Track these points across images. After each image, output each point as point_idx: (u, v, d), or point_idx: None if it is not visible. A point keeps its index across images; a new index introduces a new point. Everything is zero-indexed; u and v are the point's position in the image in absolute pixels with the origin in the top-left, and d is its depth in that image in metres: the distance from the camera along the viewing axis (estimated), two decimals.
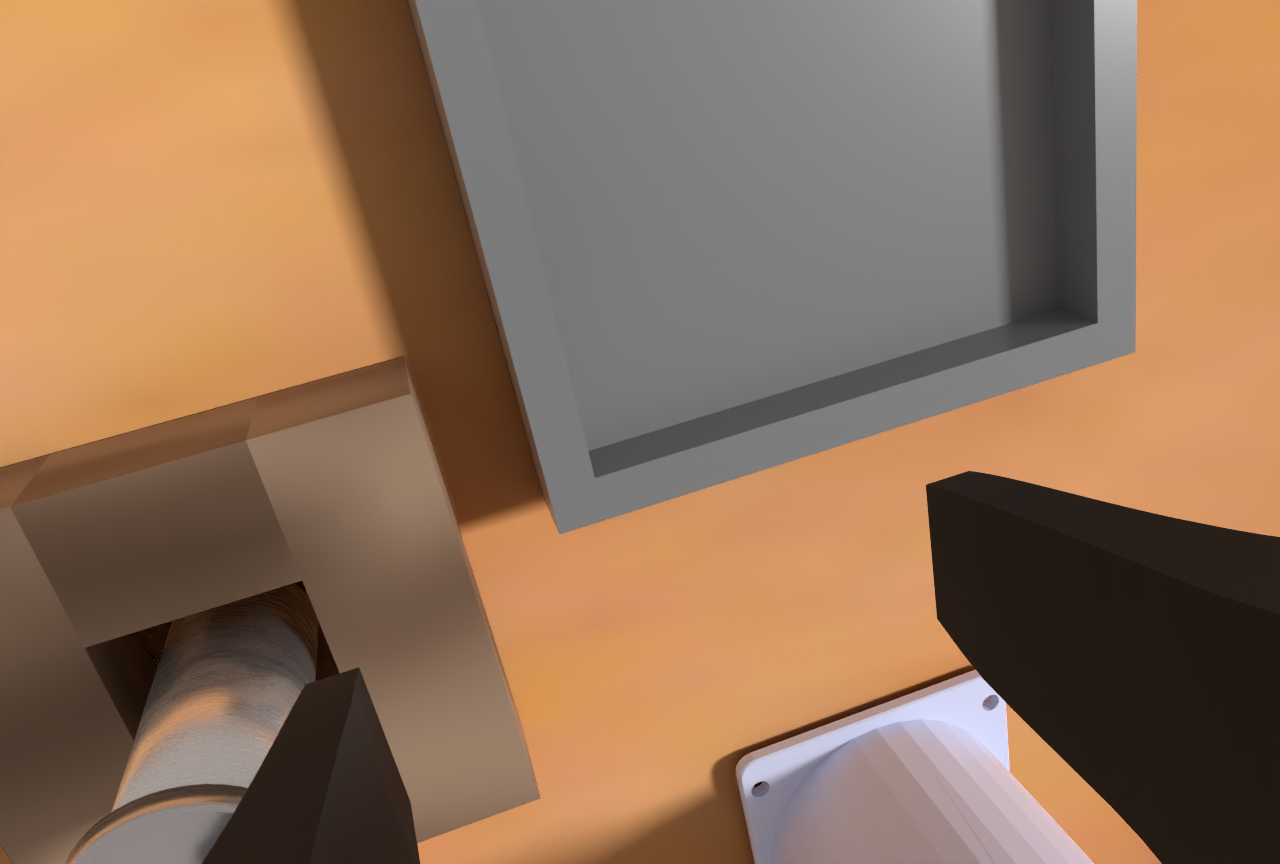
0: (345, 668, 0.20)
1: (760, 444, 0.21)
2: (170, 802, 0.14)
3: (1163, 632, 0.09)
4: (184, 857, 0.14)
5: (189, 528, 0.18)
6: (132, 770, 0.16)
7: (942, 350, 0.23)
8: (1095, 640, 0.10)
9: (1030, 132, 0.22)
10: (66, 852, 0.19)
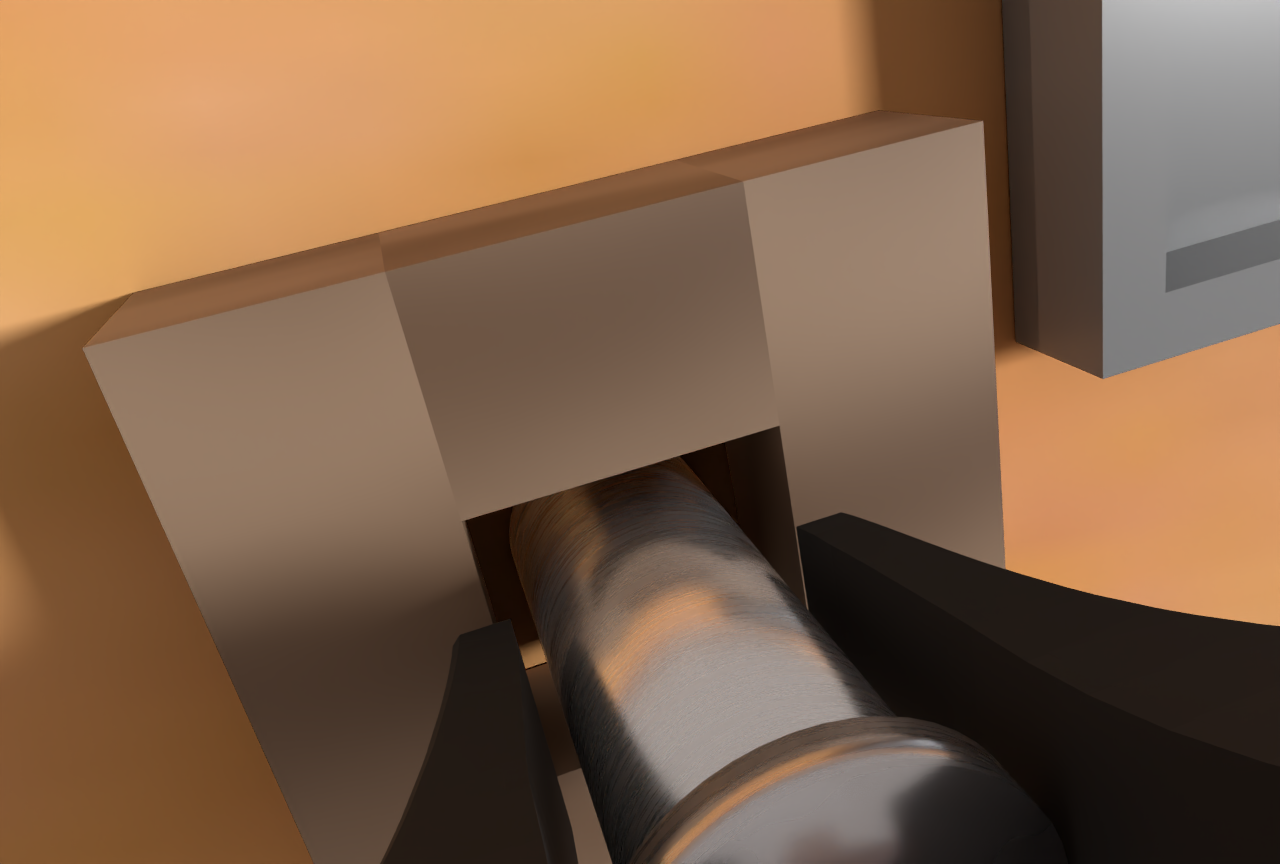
0: None
1: None
2: (853, 747, 0.07)
3: (990, 695, 0.08)
4: (874, 855, 0.07)
5: (639, 328, 0.11)
6: (644, 702, 0.09)
7: None
8: (939, 697, 0.09)
9: None
10: None
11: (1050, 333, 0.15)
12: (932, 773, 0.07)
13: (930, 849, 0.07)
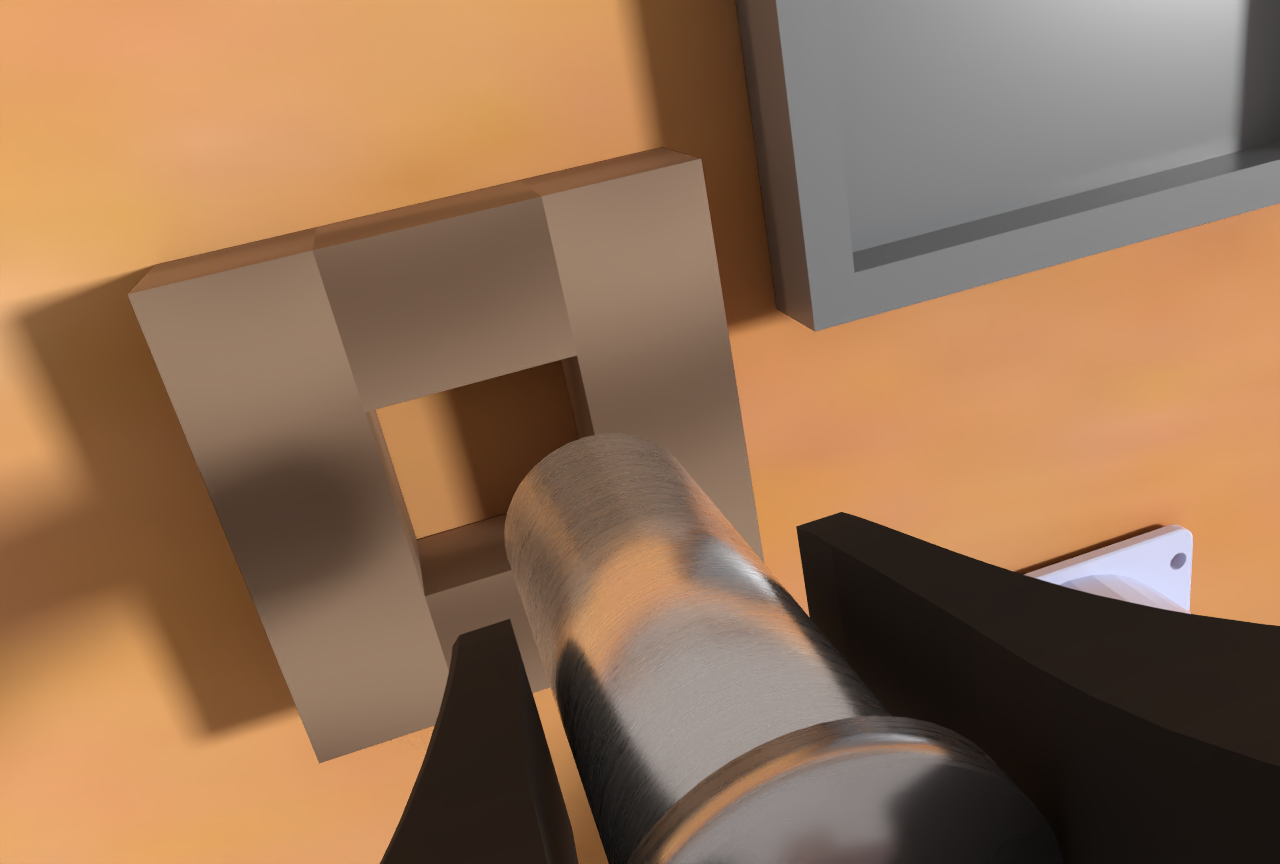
0: None
1: (1012, 249, 0.21)
2: (850, 747, 0.07)
3: (991, 695, 0.08)
4: (871, 854, 0.07)
5: (477, 289, 0.17)
6: (641, 703, 0.09)
7: (1177, 172, 0.22)
8: (939, 697, 0.09)
9: None
10: (322, 637, 0.19)
11: (790, 301, 0.21)
12: (929, 772, 0.07)
13: (927, 848, 0.07)
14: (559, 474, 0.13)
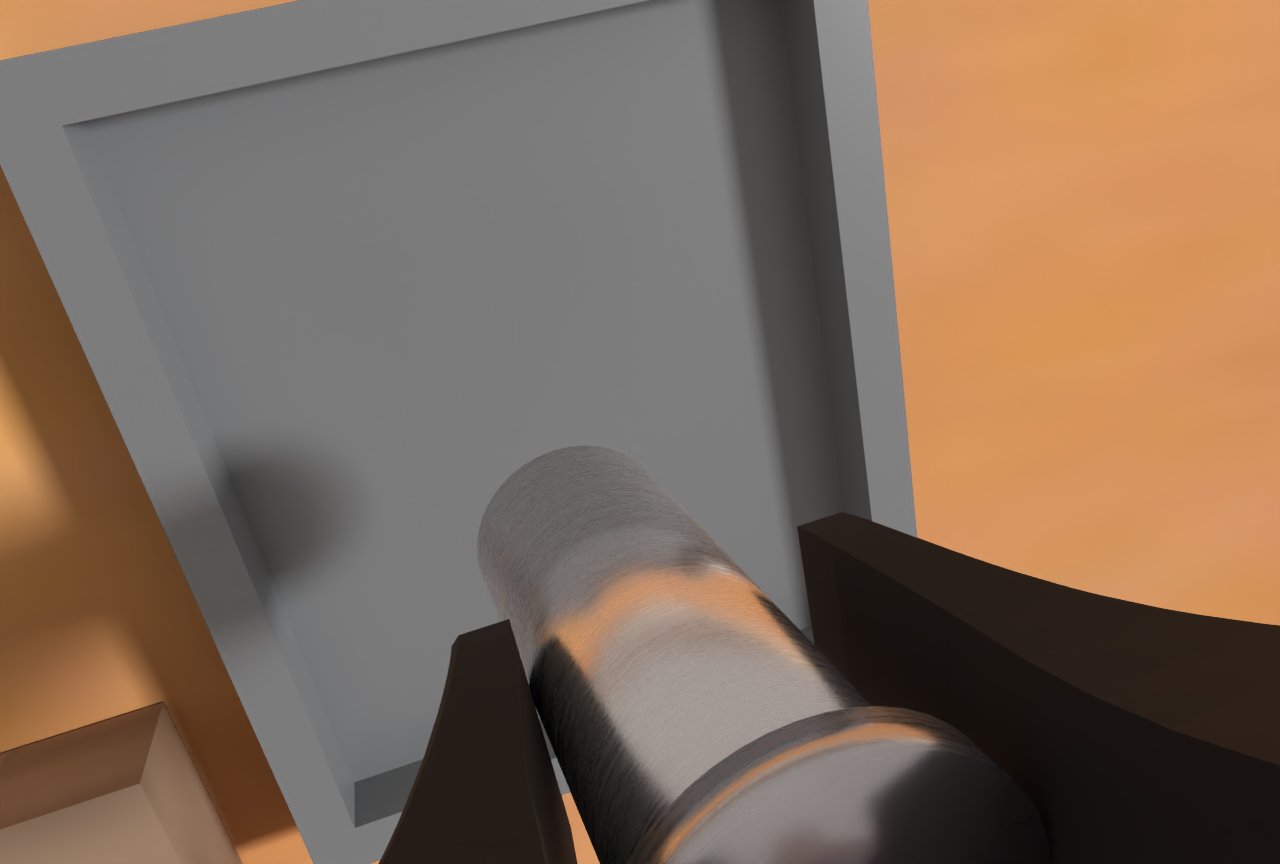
0: None
1: None
2: (857, 734, 0.07)
3: (992, 695, 0.08)
4: (874, 839, 0.07)
5: None
6: (637, 700, 0.09)
7: None
8: (940, 696, 0.09)
9: (813, 457, 0.21)
10: None
11: None
12: (932, 759, 0.07)
13: (927, 835, 0.07)
14: (537, 483, 0.13)
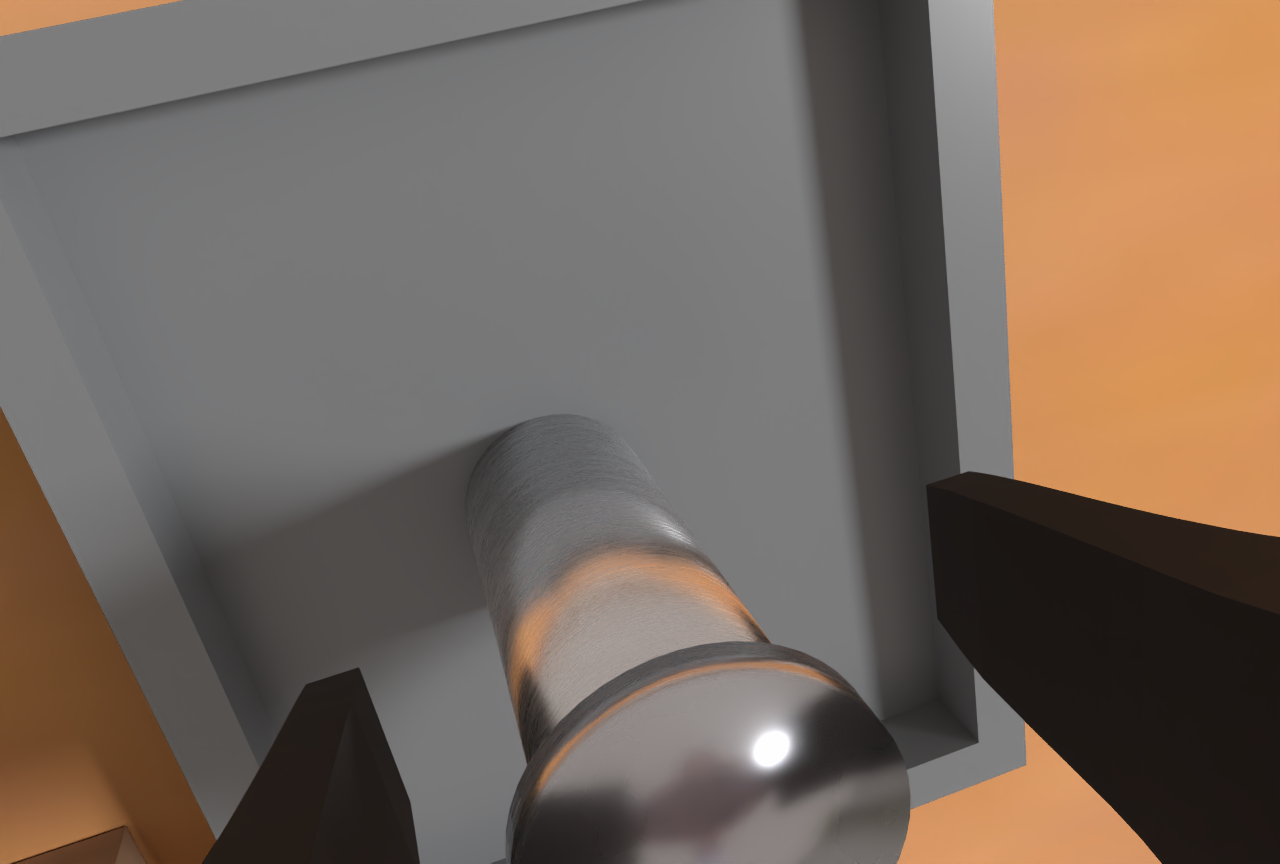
0: None
1: None
2: (727, 662, 0.09)
3: (1163, 632, 0.09)
4: (740, 753, 0.09)
5: None
6: (564, 633, 0.10)
7: None
8: (1096, 640, 0.10)
9: (896, 527, 0.18)
10: None
11: None
12: (791, 686, 0.08)
13: (788, 753, 0.09)
14: (516, 447, 0.15)
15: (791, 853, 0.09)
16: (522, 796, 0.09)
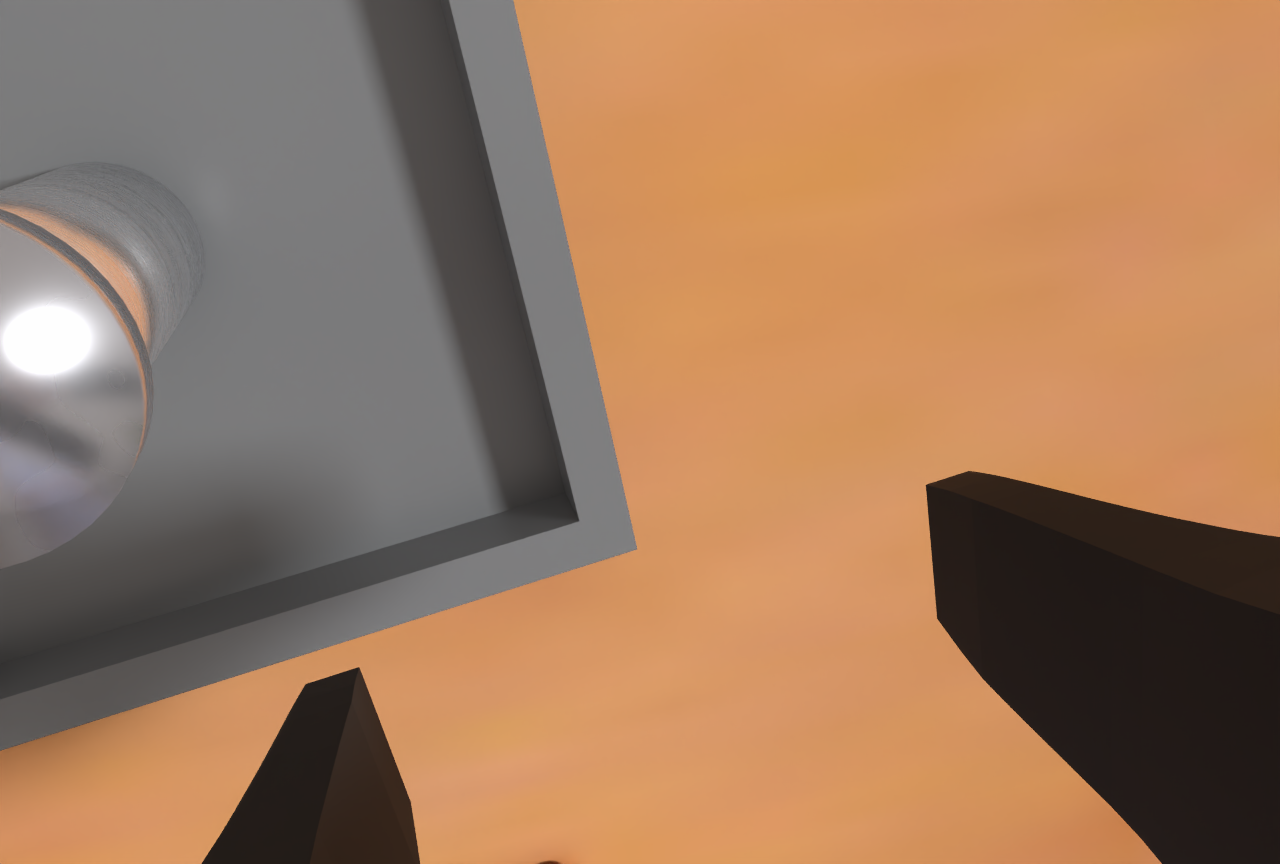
0: None
1: (150, 673, 0.18)
2: None
3: (1163, 632, 0.09)
4: None
5: None
6: None
7: (409, 548, 0.20)
8: (1094, 640, 0.10)
9: (488, 306, 0.19)
10: None
11: None
12: None
13: None
14: None
15: (7, 405, 0.10)
16: None
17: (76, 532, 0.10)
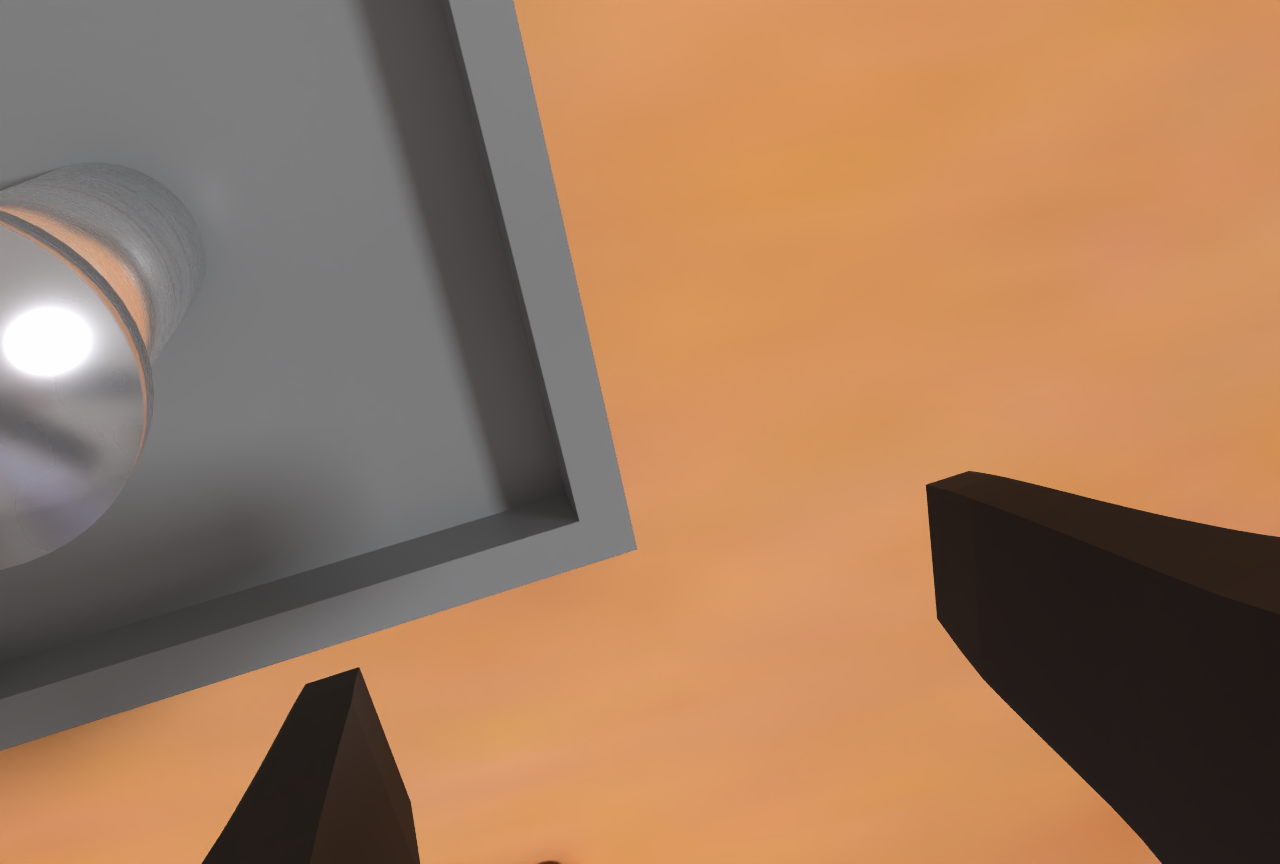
0: None
1: (150, 673, 0.18)
2: None
3: (1163, 632, 0.09)
4: None
5: None
6: None
7: (409, 548, 0.20)
8: (1094, 640, 0.10)
9: (488, 306, 0.19)
10: None
11: None
12: None
13: None
14: None
15: (8, 406, 0.10)
16: None
17: (76, 533, 0.10)
